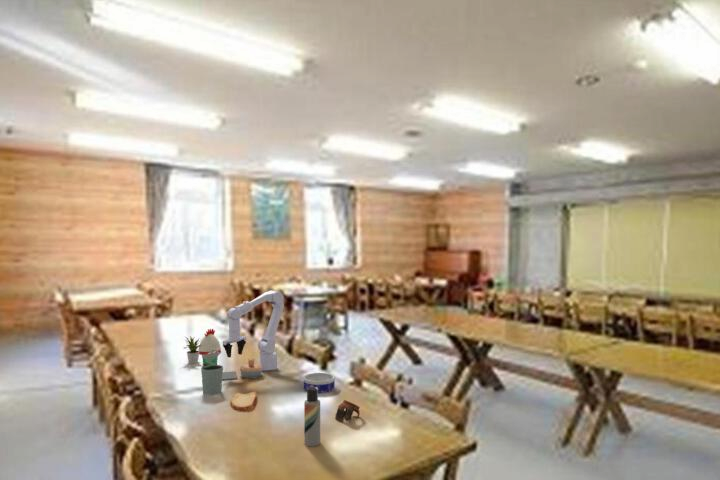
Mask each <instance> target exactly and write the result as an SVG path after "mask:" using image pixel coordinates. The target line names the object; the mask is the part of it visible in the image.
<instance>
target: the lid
mask: <svg viewBox="0 0 720 480" xmlns="http://www.w3.org/2000/svg"><path fill="white" fill-rule="evenodd" d="M247 361H248V364H244V365H241V366H240V367H239V370H240V372H241V371H258V370H261V369H262V368H263V366H262V365H260V363H256V364H255V358H249V359H248V360H247Z"/></svg>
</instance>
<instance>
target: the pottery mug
mask: <svg viewBox="0 0 720 480" xmlns="http://www.w3.org/2000/svg"><path fill="white" fill-rule="evenodd" d="M354 412H355V413H356V414H357V419H359V417H360V414H361V413H360V406H359V405H357V404H355V403H353V402H351V401H349V400H348V401H347V400H345V399H344V400H343V401H342V402H341V403H340V404H339V405H338V407H337V410H336V413H335V420H337V421H339V422H341V423H343V422H344V420H345V421H350V420H351V419H352V417H353V416H352V415H353V414H354Z"/></svg>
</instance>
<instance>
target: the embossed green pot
mask: <svg viewBox="0 0 720 480" xmlns="http://www.w3.org/2000/svg"><path fill="white" fill-rule="evenodd" d="M200 371H201V385H202V394H203V395H205V396H215V395H219V394H220V393H222V389H223V388H222V387H223V384H222V383H223V380H222V373H223V372H224V366H223V365H221V364H217V365H208V366H204V367H203V366H201V368H200Z"/></svg>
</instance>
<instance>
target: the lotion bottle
mask: <svg viewBox="0 0 720 480" xmlns="http://www.w3.org/2000/svg"><path fill="white" fill-rule="evenodd" d="M318 398H319V393H318V388H317V387H308V389H307V392H306V400H304V405H303V406H304V409H303V412H304V417H303V418H304V419H303V420H304V424H303V426H304V428H303V429H304V430H303V431H304V434H303V437H304V438H303V439H304V445H305V446H307V447H317V446H320V444H321V400H320V399H318Z"/></svg>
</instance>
